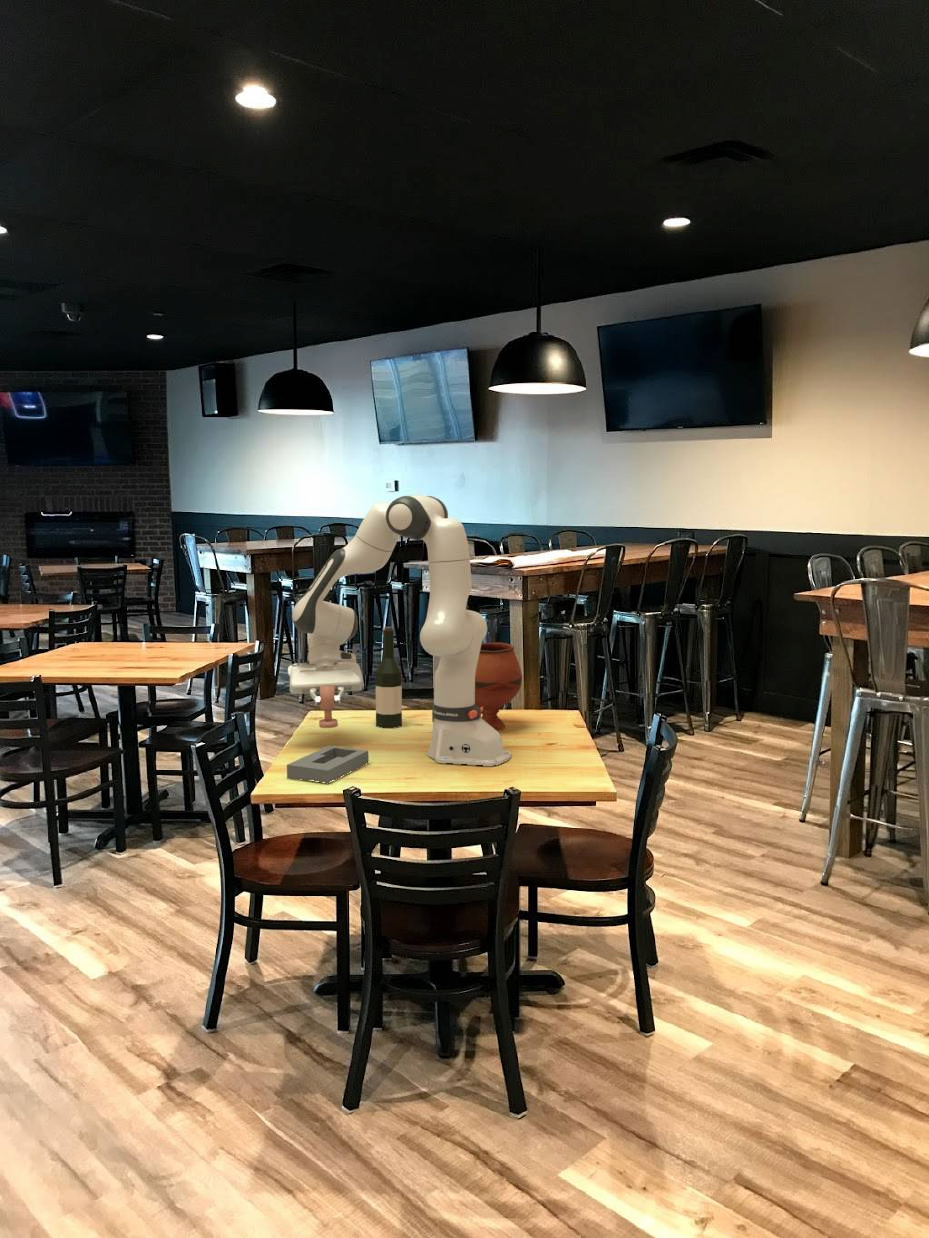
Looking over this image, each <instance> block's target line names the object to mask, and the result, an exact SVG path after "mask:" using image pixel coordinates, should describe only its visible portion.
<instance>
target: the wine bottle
mask: <svg viewBox="0 0 929 1238" xmlns="http://www.w3.org/2000/svg"><path fill="white" fill-rule="evenodd" d="M394 632H395V631H394V629H393V627H392V626H384V628H383V630H382V659H381V660H380V663H379V664H378V666H377V668H376V670H375V673H374V674H375V727H377V726H379V727H378V728H381V727H382V729H395V728H394V727H396V728H399V727H398V726H400V727H402V726H403V702H402V701H403V697H402V696H403V695H402V693H403V691H402V689H403V685H402V684H403V683H402V681H403V679H402V678H403V676H402V674H403V673H402V672H403V671H402V668H401V667H400V665H399V663H398V661H397V660H396V657H395V651H394V650H395V646H394V644H395V643H394V642H395V641H394V639H395V638H394V636H395V634H394Z"/></svg>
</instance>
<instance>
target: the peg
mask: <svg viewBox="0 0 929 1238" xmlns="http://www.w3.org/2000/svg"><path fill="white" fill-rule="evenodd" d="M335 693H336V692H335V687H334V686H333V685H328V686H320V693H319V697H320V701H321V703H320V704H321V705H319V706H320V710H323V711H324V712H323V713H324V718H322V719H319V721H318V725H319V726H318V727H319V728H322V729H332V728H337V727H338V725H339V724H338V721H339V720H338V719H337V718H333V715H332V714H333V713H332V710H334V709H336V704H335V696H336V695H335Z"/></svg>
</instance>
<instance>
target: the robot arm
mask: <svg viewBox="0 0 929 1238" xmlns="http://www.w3.org/2000/svg"><path fill="white" fill-rule="evenodd" d="M401 537H404V538H409V539H412V540H415V541H420V540H422V541H423V542H424V543H425V544H426V548H427V561H428V575H429V599H428V607H427V611H426V612H427V613H426V618H425V621H424V624H423V626H422V628H421V630H420V632H419V633H420V634H419V641H420V645H421V646H422V649H424V651H425V652H426V653H428V654H429V655H431V656H435V657H440V659H439V663H438V667H436V670H435V672H434V675H433V703H432V706H431V707H432V709H431V717H432V725H433V726H432V734H431V741H430V744H429V745H430V746H429V750H428V753H427V755H428V757H430V758H431V759H433V760H435V762H436V763H437V764H446V763H453V764H452V765H461V764H467V765H466V766H476V765H483V766H482V767H495V766H494V765H496V766H499V765H502V764H503V762H504V763H505V761H506V762H507V761H508V760H510V759H511V758H512V753H511V751H510V750H508V749H504V747H503V738H502V735H501V734H500V732H499V730H495V729H494V728H493V727H491V726H490V725H489V724H488V723H487V722H485V721H484V720H483V719H482V718H481V717H482V713H481V711H483V710H482V709H483V707H481V708H479V707H478V706H477V705H476V703H475V674H476V668H477V663H478V658H479V653H480V649H481V644H482V643H484V642H483V641H484V640H485V638H486V636H487V631H488V626H487V622H486V620H485V618H484V617H483V615H482V614H480V613H479V612H477V611H474V610H470V609H467V606H468V605H467V604H468V599H469V596H470V594H471V591H472V589H473V588H472V586H473V584H472V573H471V571H472V570H471V569H472V568H471V559H470V556H471V555H470V549H469V544H468V538H467V534H466V530H465V527H464V525H463V523H462V522H460V521H459V520H457V519H455V518H451V517H449V512H448V508H447V506H446V504H445V503H444V502H443V501H442V500H441V499H439V498H437V497H435V496H431V495H422V494H411V495H403V496H400V497H398V498H395V499H393V500H392V502H390V503H388V502H378V503H376V504H374V505H372V506H371V508H370V509H369V510H368V512H367V513H366V515H365V517H364V518H363V519H362V521H361V523H360V524H359V527H358V529H357V531H356V533H355V535H354V537H353V538H352V539H351V541H349V543H348V544H346V545H344V547H342V548H339V549H336V550H335V551H334V552H333V553H332V554H331V555H330V557H329V558H328V560H326V562H325V564H324V565H322V568H321V569H320V571H319V573H318V574H317V575H316V576H315V578H314V580H313V581H312V582H311V584H310V586H309V587H308V589H307V590H306V591H305V593H304V594H303V595H302V596H301V598H299V599H298V601H297V602H296V603H295V605H294V607H293V609H292V612H291V621H292V623H293V625H294V628H296V629H297V631H298V632H299V633H303V634H304V633H305V634H307V637H306V638H307V645H308V648H309V650H308V662H302V663H298V662H297V663H295V662H294V663H293V664H291V665H289V666H288V667H287V675H288V677H289V692H290V694H293V695H299V694H300V695H301V694H302V695H303V694H310V697H311V698H312V700H314V706H320V705H321V704H320V703H321V701H320V696H317V694H320V686H328V685H333V686H334V687H335V693H338V694H337V695H335V705H340V704H341V698H342V697H343V695H344V692H357V691H358V692H359V691H361V690H362V689H363V688H364V679H363V674H362V671H361V666H360V665H359V664H358V663H357V657H356V654H355V653H352V652H347V651H343V650H340V649H339V648H340V646H341V645H342V646H343V645H344V644H346V643H347V642H348V641H350V640H351V639H352V638H353V637H355V635H356V634H357V631H358V626H359V622H358V616H357V614H356V612H355V610H354V609H353V608H350V607H348V606H345V605H341V604H337V603H332V602H329V601H325V598H326V597H327V595H328V594H329V592H330V591H331V589H332V588H333V586H334V585H335V583H336V582H337V581H338V580H340V579H341V578H343V577H346V576H350V575H356V574H369V573H373V572H376V571H378V570H380V569H382V568H384V566H385V565H386V564H387V563H388V562H389V559H390V557H391V556H392V554H393V551H394V549H395V547H396V545H397V542H398V541H399V539H400V538H401ZM501 763H502V764H501Z"/></svg>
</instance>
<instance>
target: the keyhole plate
mask: <svg viewBox="0 0 929 1238" xmlns="http://www.w3.org/2000/svg"><path fill="white" fill-rule="evenodd" d="M369 753H370V752H369V750H366V749H358V748H353V747H345V746H344V747H343V746H336V745H327V746H325V747H323V748H320V749H319V750H317V751H314V752H311V753H310V754H308V755H305V756H303V757H301V758H299V759H296V760H294V761H291V762H290V763H288V764H286V779H288V778H294V779H293V780H295V779H302V780H314V781H319V782H325V783H329V782H330V781H332V780H336V779H338V778H340V777H341V776H343V775H345V774H347V773H349V772H350V771H353V772H354V770H355V771H357V770H358V769H357V768H359V769H360V767H361V766H363V765H365V764H366V763H368V762H369V761H370V760H369V755H370V754H369ZM369 763H370V762H369ZM365 766H366V765H365ZM363 767H364V766H363ZM361 768H362V767H361ZM356 769H357V770H356ZM349 774H350V773H349ZM347 775H348V774H347ZM345 776H346V775H345ZM343 777H344V776H343ZM340 779H341V778H340ZM302 780H301V781H302ZM338 780H339V779H338ZM336 781H337V780H336Z"/></svg>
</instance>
